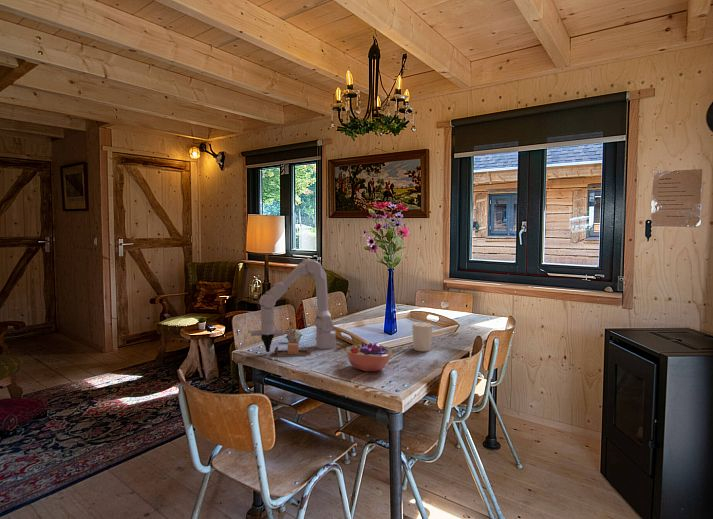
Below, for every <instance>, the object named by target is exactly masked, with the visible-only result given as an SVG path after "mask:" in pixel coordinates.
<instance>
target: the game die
mask: <svg viewBox="0 0 713 519" xmlns="http://www.w3.org/2000/svg"><path fill="white" fill-rule="evenodd" d="M287 329H288V331H287V334H286V336H284V339H287V341H288V343H300V340H301V339H302V338H301V337H302V334H301V332H300V330H299V327H297V328H293V329H290V328H287Z"/></svg>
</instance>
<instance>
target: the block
mask: <svg viewBox="0 0 713 519" xmlns="http://www.w3.org/2000/svg"><path fill="white" fill-rule="evenodd" d="M287 350H288V355H297V354H298V350H299V342H295V343H290V342H288V343H287Z"/></svg>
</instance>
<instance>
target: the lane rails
mask: <svg viewBox="0 0 713 519" xmlns="http://www.w3.org/2000/svg"><path fill="white" fill-rule="evenodd" d="M278 352H288V349H278ZM298 352H308V350H307V349H298ZM273 357H274V358H287V357H291V358H292V357H307V356H306V354H297V355H274V354H273Z"/></svg>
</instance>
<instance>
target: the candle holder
mask: <svg viewBox="0 0 713 519" xmlns="http://www.w3.org/2000/svg"><path fill="white" fill-rule="evenodd" d="M411 326H412V329H411V330H412V346H413V350H414V351H418V352H429V351H431V349H432V339H433V326H434V325H433V323H431V322H425V321H422V322H421V321H418V322H412V323H411Z"/></svg>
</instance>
